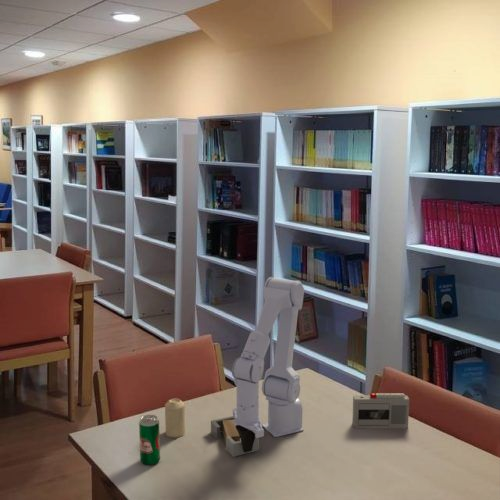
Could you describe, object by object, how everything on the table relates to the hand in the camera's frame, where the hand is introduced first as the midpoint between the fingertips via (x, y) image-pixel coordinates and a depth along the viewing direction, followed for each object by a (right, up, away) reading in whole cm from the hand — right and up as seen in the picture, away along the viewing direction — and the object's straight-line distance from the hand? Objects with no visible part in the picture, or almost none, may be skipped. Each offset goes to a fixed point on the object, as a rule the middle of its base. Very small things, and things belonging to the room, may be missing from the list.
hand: (247, 451), depth 159 cm
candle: (-21, +1, +13) cm, 24 cm away
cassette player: (+38, +1, +17) cm, 42 cm away
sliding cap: (-1, -1, +3) cm, 3 cm away
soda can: (-25, -2, -3) cm, 25 cm away
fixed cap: (-6, +1, +13) cm, 14 cm away
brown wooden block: (-5, 0, +9) cm, 10 cm away
